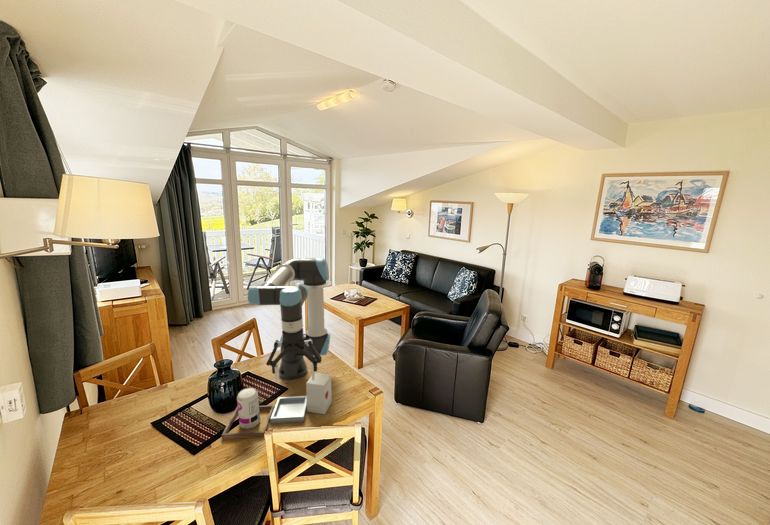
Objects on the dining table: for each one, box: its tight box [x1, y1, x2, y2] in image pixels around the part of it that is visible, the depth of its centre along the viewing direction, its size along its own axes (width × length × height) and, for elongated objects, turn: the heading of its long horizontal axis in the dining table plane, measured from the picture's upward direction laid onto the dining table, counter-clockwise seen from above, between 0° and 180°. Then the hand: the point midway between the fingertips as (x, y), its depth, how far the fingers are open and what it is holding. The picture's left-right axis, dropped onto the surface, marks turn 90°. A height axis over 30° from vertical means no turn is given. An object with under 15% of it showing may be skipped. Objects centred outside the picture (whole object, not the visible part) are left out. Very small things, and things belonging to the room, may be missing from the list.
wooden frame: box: [221, 404, 275, 440], centre depth 132 cm, size 17×17×2 cm
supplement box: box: [305, 372, 333, 415], centre depth 141 cm, size 9×9×15 cm
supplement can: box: [236, 387, 261, 430], centre depth 130 cm, size 8×8×15 cm
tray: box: [270, 395, 307, 424], centre depth 139 cm, size 14×14×2 cm
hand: (295, 379), depth 118 cm, fingers open, 13 cm apart
